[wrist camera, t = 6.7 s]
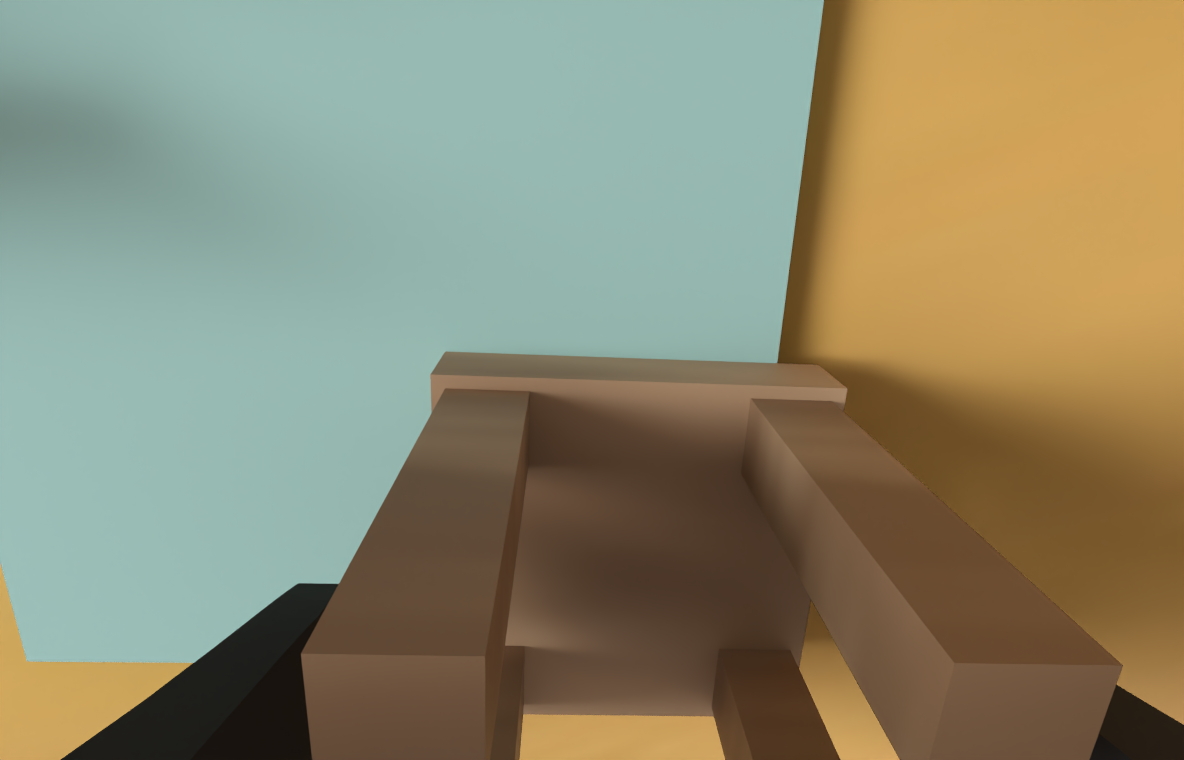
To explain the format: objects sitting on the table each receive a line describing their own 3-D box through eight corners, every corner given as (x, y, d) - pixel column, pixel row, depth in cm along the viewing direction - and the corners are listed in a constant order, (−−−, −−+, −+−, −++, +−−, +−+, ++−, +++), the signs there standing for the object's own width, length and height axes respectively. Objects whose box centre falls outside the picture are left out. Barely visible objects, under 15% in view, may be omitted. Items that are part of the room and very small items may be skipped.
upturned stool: (770, 666, 13) (967, 1158, 6) (452, 662, 12) (333, 1171, 6) (818, 365, 11) (1158, 642, 5) (445, 351, 11) (267, 628, 4)
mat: (731, 645, 13) (738, 666, 13) (51, 638, 13) (26, 661, 12) (849, -321, 9) (869, -354, 8) (-212, -399, 8) (-271, -441, 7)
